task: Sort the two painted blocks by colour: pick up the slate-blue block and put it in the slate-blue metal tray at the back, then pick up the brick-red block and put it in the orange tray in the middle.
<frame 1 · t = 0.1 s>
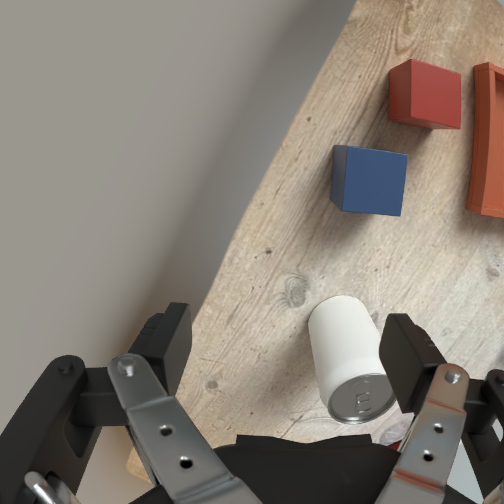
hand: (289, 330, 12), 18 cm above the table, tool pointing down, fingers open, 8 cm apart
red block: (412, 99, 25), on the table
blue block: (358, 175, 27), on the table
can: (337, 319, 33), on the table
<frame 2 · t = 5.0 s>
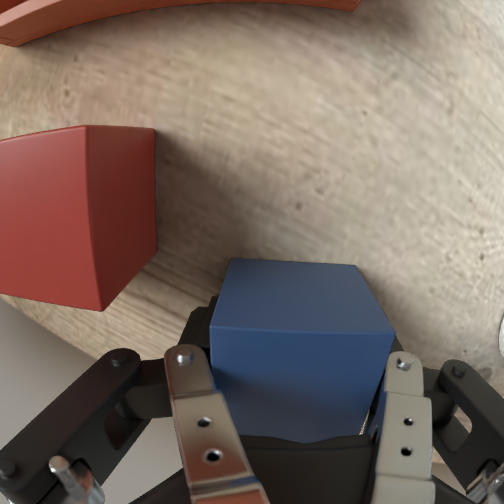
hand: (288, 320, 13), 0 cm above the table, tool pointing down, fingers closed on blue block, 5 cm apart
red block: (100, 192, 12), on the table
blue block: (288, 315, 13), on the table, touching gripper
when the fingers open (1 cm above the table, at t = 12.9 s): blue block stays where it is, resting on blue tray.
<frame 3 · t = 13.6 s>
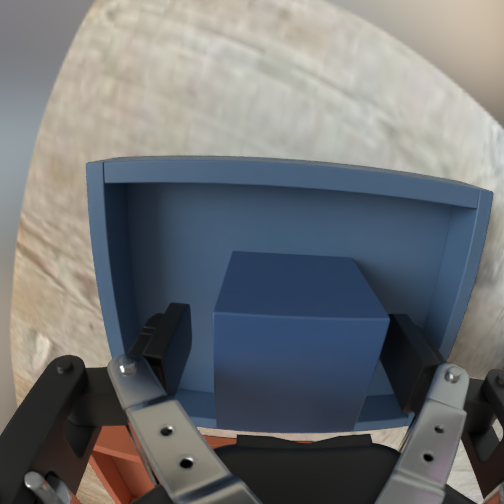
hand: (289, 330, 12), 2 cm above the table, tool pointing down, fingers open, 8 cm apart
orange tray: (200, 477, 21), on the table
blue block: (287, 307, 14), point 1 cm above the table, touching blue tray
blue tray: (286, 299, 15), on the table
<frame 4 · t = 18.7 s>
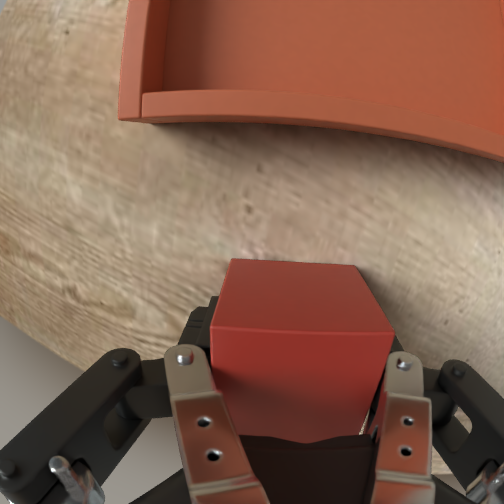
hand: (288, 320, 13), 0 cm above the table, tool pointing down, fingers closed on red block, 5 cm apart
red block: (288, 316, 13), on the table, touching gripper
when the fingers open (1 cm above the table, at t = 25.1 s): red block stays where it is, resting on orange tray.
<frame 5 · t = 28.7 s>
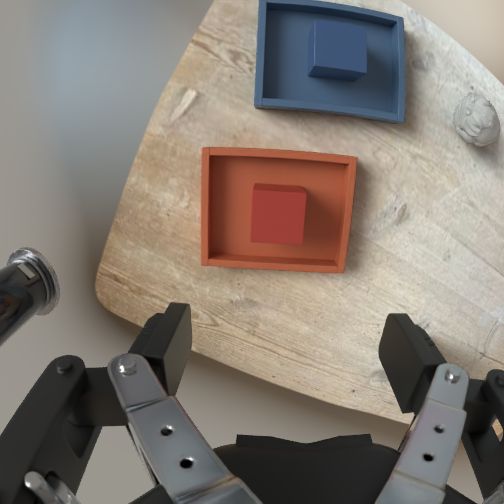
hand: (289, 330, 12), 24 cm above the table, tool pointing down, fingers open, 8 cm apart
orange tray: (276, 206, 35), on the table
frog figurine: (459, 120, 30), on the table
red block: (276, 207, 34), point 1 cm above the table, touching orange tray
blue block: (331, 57, 28), point 1 cm above the table, touching blue tray
blue tray: (329, 60, 29), on the table
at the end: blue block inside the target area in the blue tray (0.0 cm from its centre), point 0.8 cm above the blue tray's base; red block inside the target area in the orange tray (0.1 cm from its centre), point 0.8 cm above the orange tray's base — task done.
